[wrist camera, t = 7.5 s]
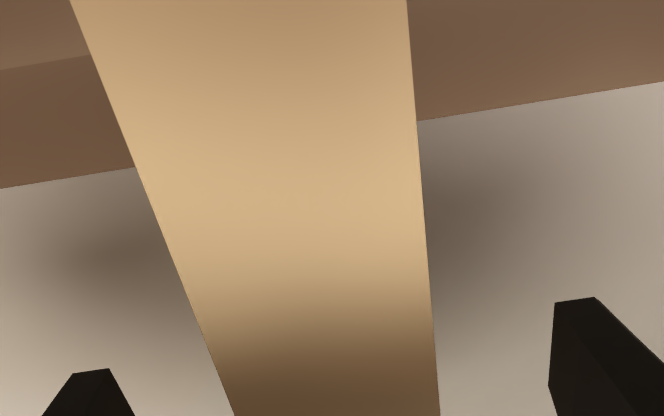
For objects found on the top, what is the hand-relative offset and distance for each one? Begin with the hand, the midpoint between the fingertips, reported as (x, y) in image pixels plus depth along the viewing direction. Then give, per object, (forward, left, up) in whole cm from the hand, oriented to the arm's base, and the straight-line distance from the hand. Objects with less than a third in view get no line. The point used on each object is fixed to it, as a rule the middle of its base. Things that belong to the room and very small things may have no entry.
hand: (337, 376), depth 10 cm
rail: (0, 0, -5) cm, 5 cm away
